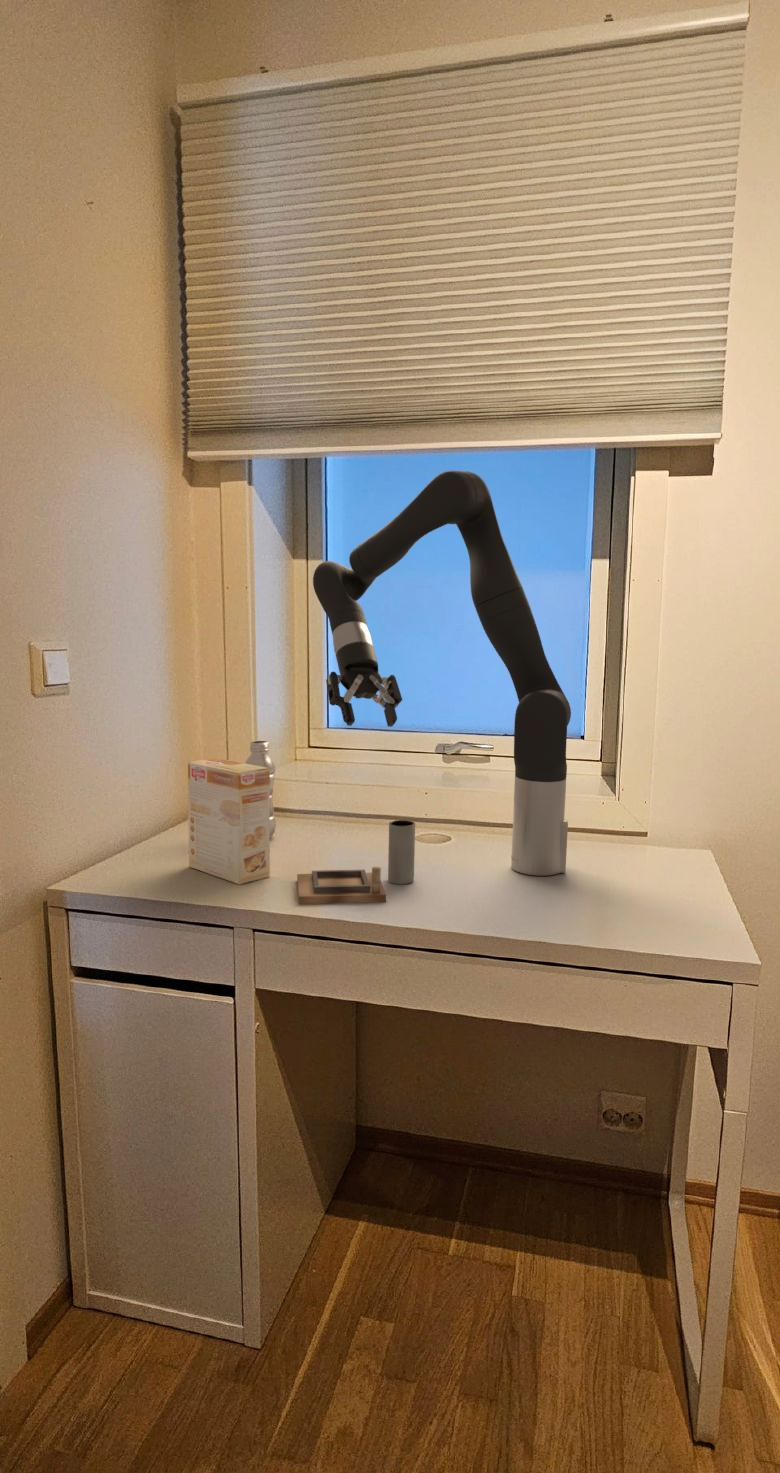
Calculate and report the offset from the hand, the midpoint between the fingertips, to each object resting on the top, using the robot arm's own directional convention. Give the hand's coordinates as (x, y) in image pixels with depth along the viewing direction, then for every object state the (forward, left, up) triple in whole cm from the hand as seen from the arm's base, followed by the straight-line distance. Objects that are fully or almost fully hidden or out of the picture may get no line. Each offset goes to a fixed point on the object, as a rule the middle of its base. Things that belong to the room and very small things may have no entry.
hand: (372, 724), depth 157 cm
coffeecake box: (+26, +6, -26) cm, 37 cm away
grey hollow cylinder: (-4, +13, -26) cm, 30 cm away
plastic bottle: (+21, -17, -26) cm, 37 cm away
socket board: (+7, +18, -26) cm, 33 cm away
